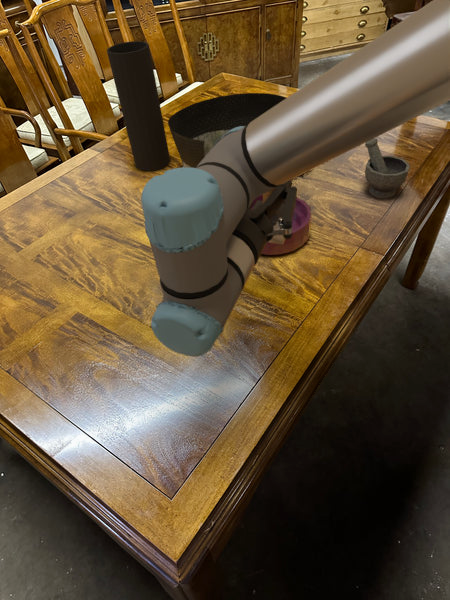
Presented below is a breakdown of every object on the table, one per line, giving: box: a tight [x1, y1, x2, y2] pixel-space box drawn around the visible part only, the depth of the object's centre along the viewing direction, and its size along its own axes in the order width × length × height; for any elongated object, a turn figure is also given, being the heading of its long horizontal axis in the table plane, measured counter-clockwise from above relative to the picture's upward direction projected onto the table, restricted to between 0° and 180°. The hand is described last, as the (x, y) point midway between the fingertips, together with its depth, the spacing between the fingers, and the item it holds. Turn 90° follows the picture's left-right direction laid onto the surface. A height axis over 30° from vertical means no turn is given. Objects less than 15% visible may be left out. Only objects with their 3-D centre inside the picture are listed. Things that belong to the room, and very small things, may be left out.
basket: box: [167, 92, 288, 168], centre depth 108 cm, size 28×35×16 cm
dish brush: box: [252, 188, 285, 245], centre depth 68 cm, size 6×5×16 cm
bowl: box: [251, 194, 313, 256], centre depth 92 cm, size 17×17×6 cm
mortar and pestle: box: [364, 138, 411, 199], centre depth 98 cm, size 11×9×12 cm
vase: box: [106, 40, 171, 172], centre depth 112 cm, size 10×10×30 cm
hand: (280, 168), depth 70 cm, fingers closed on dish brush, 2 cm apart
